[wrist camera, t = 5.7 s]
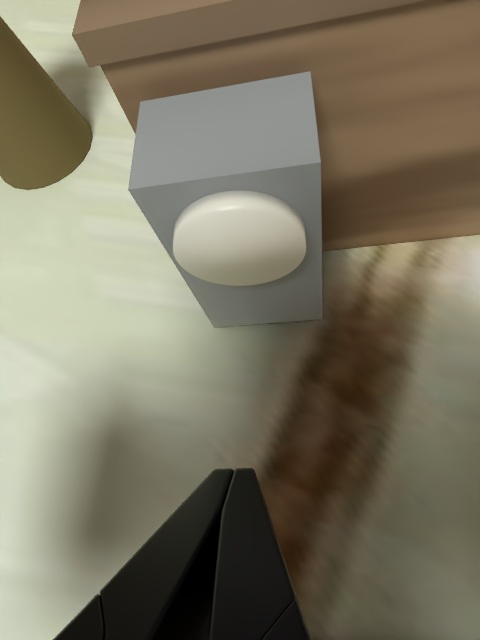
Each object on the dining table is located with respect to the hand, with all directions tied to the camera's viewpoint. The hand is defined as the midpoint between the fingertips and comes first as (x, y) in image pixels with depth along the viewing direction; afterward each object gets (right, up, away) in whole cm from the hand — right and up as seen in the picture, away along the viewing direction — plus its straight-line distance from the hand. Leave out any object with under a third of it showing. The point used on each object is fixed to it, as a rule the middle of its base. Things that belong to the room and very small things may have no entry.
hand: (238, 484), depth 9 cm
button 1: (+1, +5, +9) cm, 10 cm away
